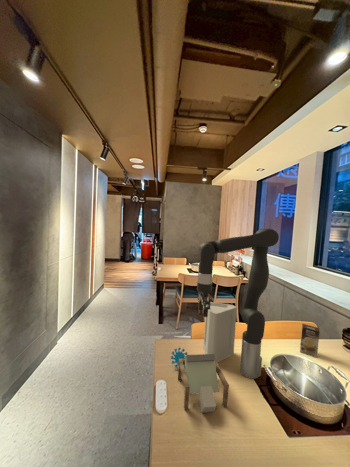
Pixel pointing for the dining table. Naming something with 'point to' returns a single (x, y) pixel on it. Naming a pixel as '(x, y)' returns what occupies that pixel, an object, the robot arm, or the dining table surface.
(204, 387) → the small gray block
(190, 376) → the trapdoor
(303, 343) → the coffee box
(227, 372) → the dining table surface
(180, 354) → the teal piece
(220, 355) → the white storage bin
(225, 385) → the stand
